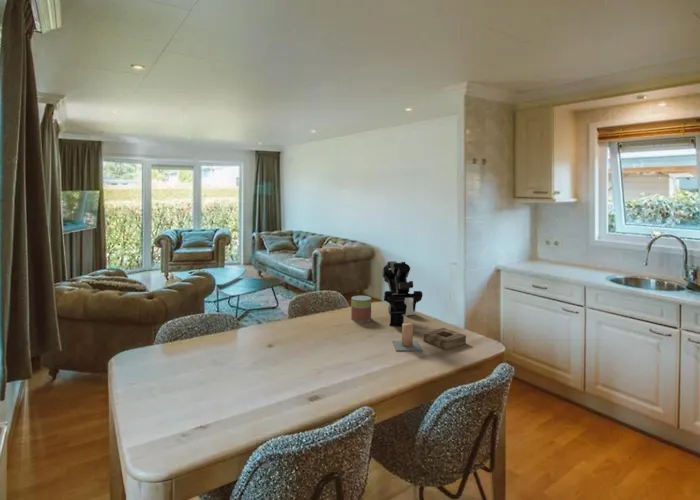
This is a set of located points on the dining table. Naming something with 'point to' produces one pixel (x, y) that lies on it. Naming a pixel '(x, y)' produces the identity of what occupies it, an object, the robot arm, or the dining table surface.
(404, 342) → the peg
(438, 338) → the pocket block
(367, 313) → the canned food
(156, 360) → the dining table surface
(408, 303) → the medicine bottle
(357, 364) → the dining table surface
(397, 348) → the pad
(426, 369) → the dining table surface
